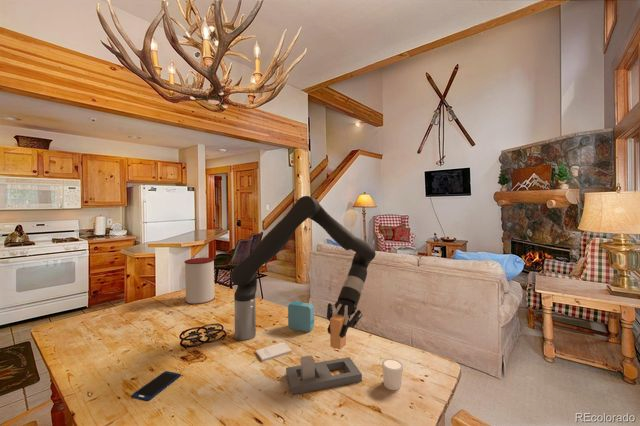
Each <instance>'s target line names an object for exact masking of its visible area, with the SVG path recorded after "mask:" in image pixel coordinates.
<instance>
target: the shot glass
mask: <svg viewBox="0 0 640 426" xmlns="http://www.w3.org/2000/svg"><path fill="white" fill-rule="evenodd" d="M381 366H382V367H381V368H382V378H383V386H384V387H385V389H388V390H391V391H398V390H401V388H402V383H403V372H404V364H403V363H402V362H401V361H400V360H398V359H394V358H386V359H383V360H382V361H381Z"/></svg>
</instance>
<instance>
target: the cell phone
mask: <svg viewBox="0 0 640 426" xmlns="http://www.w3.org/2000/svg"><path fill="white" fill-rule="evenodd" d="M181 376H182V374H181V373H179V372H173V371H167V370H165V371H162V372H161V373H160V374H159V375H157V376H156V377H155V378H153V379H152V380H149V382H148V383H146V384H145V385H144V386H142V387H140V388H139V389H137V390H136V391H135V392H134V393H132V394H131V395H130V397H131V398H132V399H135V400H141V401H144V402H149V401H151V400H152V399H153V398H155V397H156V396H158V395H159V394H160V393H161V392H163V391H164V390H165V389H166V388H168V387H169V386H170V385H171V384H173V383H175V381H176V380H178V379H179V378H180V377H181ZM167 386H168V387H167Z"/></svg>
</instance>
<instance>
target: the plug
mask: <svg viewBox="0 0 640 426" xmlns="http://www.w3.org/2000/svg"><path fill="white" fill-rule="evenodd" d="M344 320H345V318H344V316H341V315H338V314H337V315H334V316H333V317H331V318H330V321H329V324H330V334H329V338H330V341H329V342H330V344H329V346H330V347H331V348H334V349H337V350H340V351H341V350H342V349H343V348H344V347H346V346H347V334H346V335H345V337H343V338H341V337H340V336H339V334H340V332H341V329H342V326H343V325H344Z"/></svg>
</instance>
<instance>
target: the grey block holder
mask: <svg viewBox="0 0 640 426" xmlns="http://www.w3.org/2000/svg"><path fill="white" fill-rule="evenodd" d="M340 369H341V370H342V369H344V371H345V373H338V374H333V375H332V373H331V371H334V370H340ZM285 375H286V379H287V382H288V386H289V389H290V393H291V396H293V395H299V394H303V393H309V392H314V391H319V390H325V389H330V388H333V387H338V386H344V385H351V384H355V383H360V382H362V381H363V379H362V378H363V374H362V372H361V371H360V369H359V368H358V367H357V365H356V364H355V362H354V361H353V360H352V359H351V357H350V356H348V357H341V358H335V359H329V360H323V361H317V362H316V360H315V359H314V357H313V355H312V354H311V355H305V356H300V364H299V365H294V366H287V367H286V368H285Z"/></svg>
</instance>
